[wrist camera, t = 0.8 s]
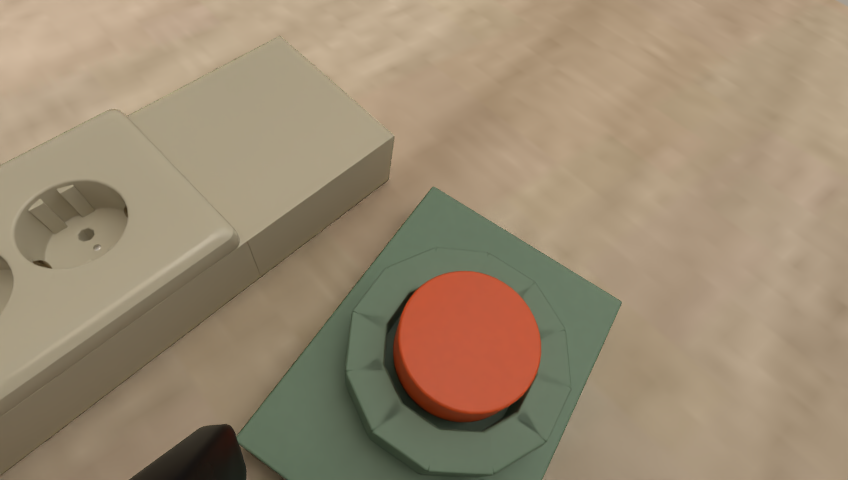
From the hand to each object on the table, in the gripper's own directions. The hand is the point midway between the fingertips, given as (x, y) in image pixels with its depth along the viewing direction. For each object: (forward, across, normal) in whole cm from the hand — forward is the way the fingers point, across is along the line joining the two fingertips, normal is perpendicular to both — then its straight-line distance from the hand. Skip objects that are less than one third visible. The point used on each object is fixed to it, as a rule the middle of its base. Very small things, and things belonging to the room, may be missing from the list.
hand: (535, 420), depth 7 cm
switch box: (+10, +2, +6) cm, 12 cm away
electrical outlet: (+13, +12, +1) cm, 18 cm away
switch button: (+8, +1, +4) cm, 9 cm away
